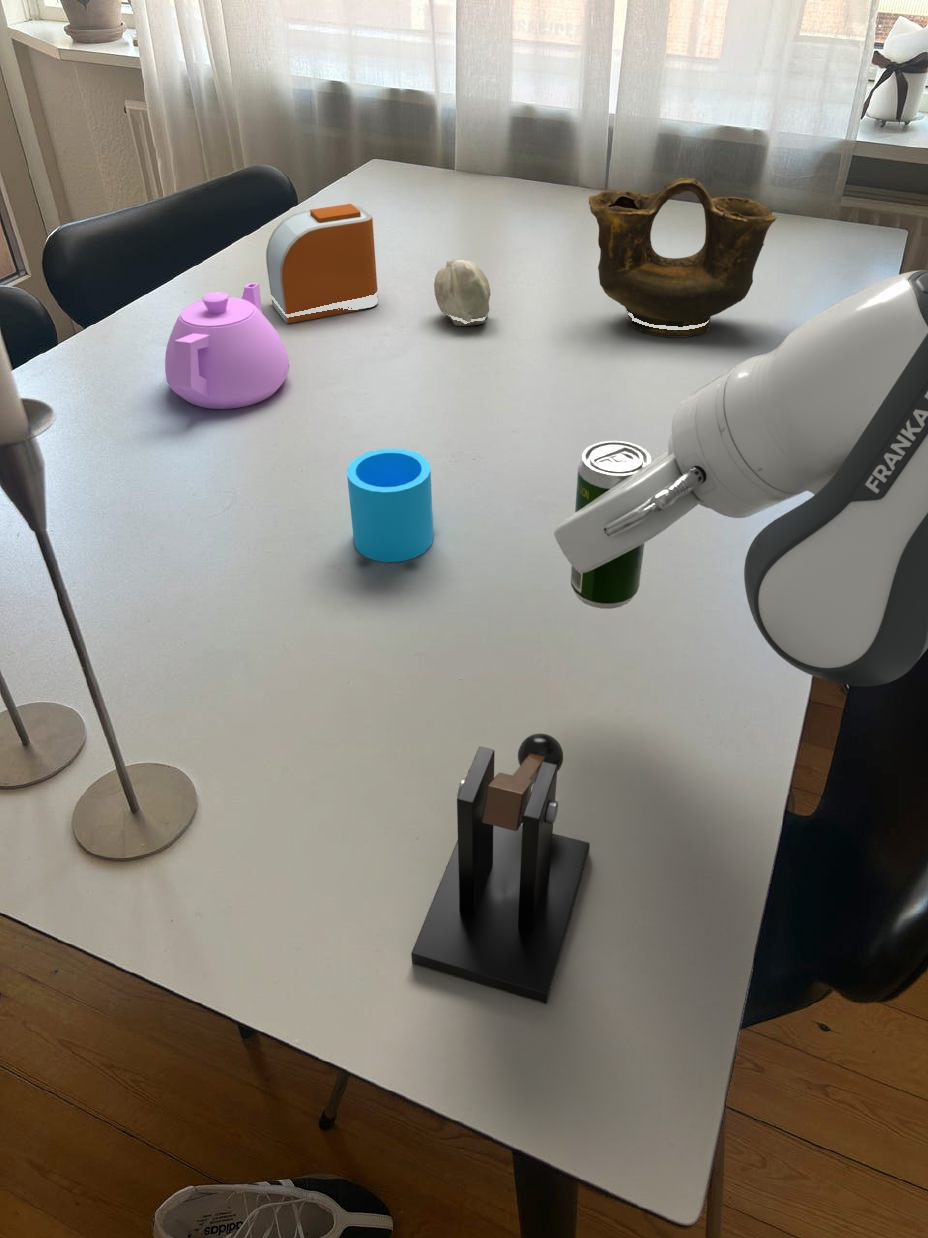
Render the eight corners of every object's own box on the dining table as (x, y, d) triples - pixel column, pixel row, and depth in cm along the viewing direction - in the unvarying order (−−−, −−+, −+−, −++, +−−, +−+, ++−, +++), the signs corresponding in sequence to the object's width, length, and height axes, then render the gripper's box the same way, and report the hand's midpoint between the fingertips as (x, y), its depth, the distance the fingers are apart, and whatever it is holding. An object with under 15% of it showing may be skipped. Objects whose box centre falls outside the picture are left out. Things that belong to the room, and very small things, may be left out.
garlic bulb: (484, 344, 140) (496, 289, 132) (427, 335, 140) (435, 279, 131) (488, 301, 145) (499, 245, 137) (432, 292, 145) (440, 235, 136)
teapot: (252, 432, 116) (236, 337, 108) (135, 418, 119) (111, 324, 112) (317, 355, 133) (307, 268, 125) (213, 345, 136) (197, 259, 128)
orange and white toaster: (363, 287, 152) (356, 197, 143) (382, 306, 146) (376, 213, 137) (271, 303, 147) (258, 211, 138) (287, 324, 141) (274, 228, 132)
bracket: (469, 822, 71) (467, 697, 63) (589, 853, 69) (603, 728, 61) (411, 964, 62) (401, 841, 54) (546, 1004, 60) (557, 883, 52)
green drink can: (592, 619, 74) (604, 484, 66) (557, 581, 78) (564, 449, 70) (651, 599, 76) (669, 465, 68) (614, 563, 79) (627, 432, 72)
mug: (414, 569, 95) (410, 498, 90) (339, 552, 97) (331, 482, 92) (458, 506, 103) (457, 438, 98) (389, 492, 106) (384, 425, 100)
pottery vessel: (577, 334, 137) (586, 187, 124) (583, 304, 145) (592, 163, 133) (757, 345, 134) (786, 195, 121) (753, 314, 142) (780, 170, 129)
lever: (520, 766, 70) (527, 724, 70) (562, 776, 69) (570, 734, 69) (472, 827, 58) (480, 776, 57) (523, 840, 57) (532, 789, 56)
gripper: (675, 559, 56) (538, 618, 67) (838, 428, 67) (697, 498, 79) (619, 465, 55) (490, 541, 67) (792, 350, 67) (657, 431, 78)
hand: (604, 517), depth 73 cm, fingers closed on green drink can, 5 cm apart
